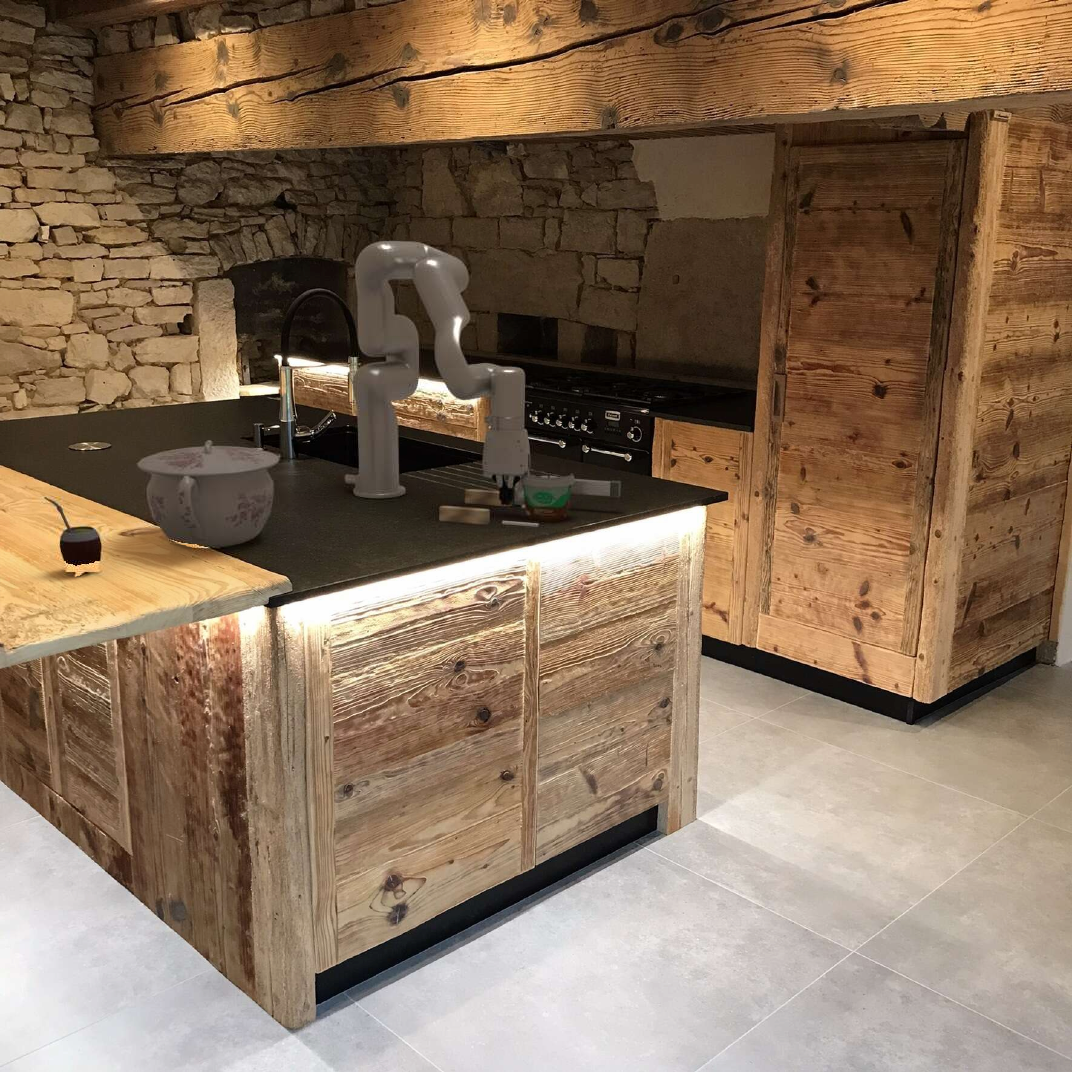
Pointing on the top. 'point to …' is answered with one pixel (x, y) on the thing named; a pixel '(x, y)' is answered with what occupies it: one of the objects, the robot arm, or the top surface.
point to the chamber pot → (210, 493)
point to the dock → (472, 513)
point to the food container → (547, 496)
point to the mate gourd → (79, 542)
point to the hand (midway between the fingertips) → (506, 503)
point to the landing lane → (520, 522)
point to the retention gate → (580, 489)
